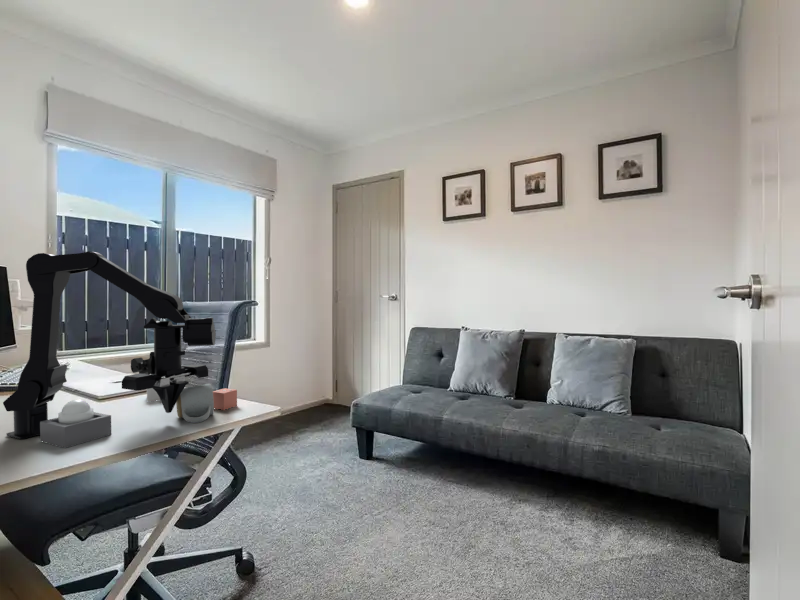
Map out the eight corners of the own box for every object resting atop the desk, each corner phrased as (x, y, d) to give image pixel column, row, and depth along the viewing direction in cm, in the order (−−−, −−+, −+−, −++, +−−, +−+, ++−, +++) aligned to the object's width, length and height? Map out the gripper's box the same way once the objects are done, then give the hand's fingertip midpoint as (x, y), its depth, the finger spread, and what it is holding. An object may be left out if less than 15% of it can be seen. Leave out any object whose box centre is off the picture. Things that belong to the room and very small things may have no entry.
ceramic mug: (175, 414, 109) (174, 384, 109) (210, 409, 113) (209, 380, 113) (179, 426, 100) (178, 393, 100) (217, 420, 104) (216, 389, 104)
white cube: (146, 398, 128) (146, 377, 128) (169, 395, 131) (169, 375, 131) (147, 402, 123) (147, 381, 122) (171, 399, 126) (170, 378, 126)
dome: (52, 425, 91) (51, 401, 90) (83, 417, 96) (83, 395, 96) (68, 428, 88) (68, 404, 88) (99, 420, 93) (99, 398, 93)
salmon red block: (211, 408, 115) (211, 391, 115) (225, 404, 119) (224, 387, 119) (223, 410, 113) (223, 392, 113) (237, 406, 117) (236, 389, 117)
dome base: (40, 441, 90) (40, 421, 90) (87, 429, 98) (86, 410, 98) (64, 448, 86) (64, 427, 86) (111, 434, 94) (111, 415, 94)
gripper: (179, 341, 114) (180, 400, 114) (105, 349, 97) (106, 418, 97) (209, 343, 109) (210, 404, 109) (137, 352, 92) (138, 425, 92)
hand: (168, 412), depth 102 cm, fingers closed
